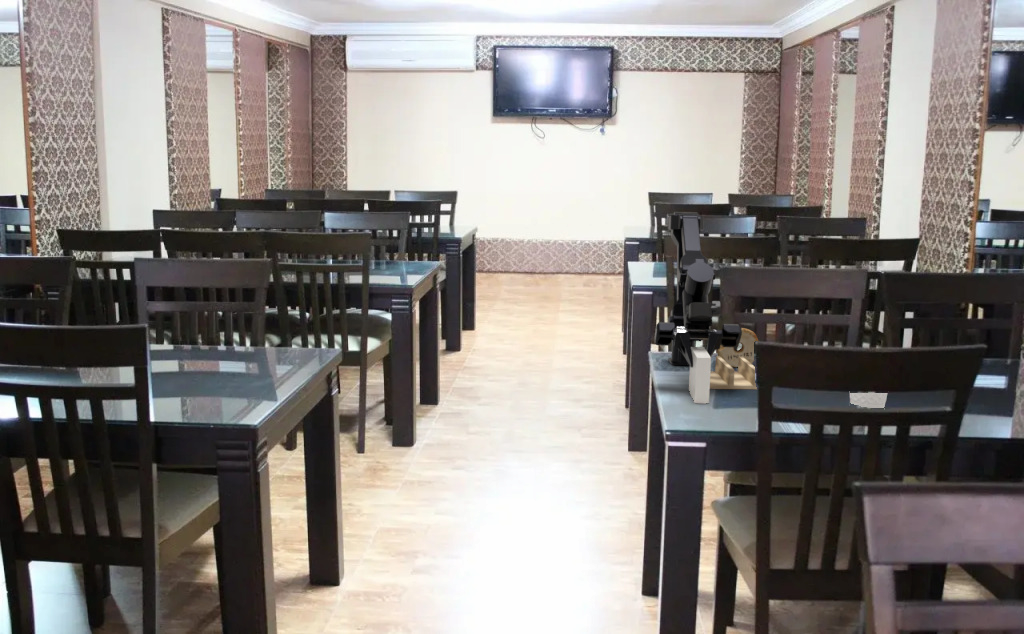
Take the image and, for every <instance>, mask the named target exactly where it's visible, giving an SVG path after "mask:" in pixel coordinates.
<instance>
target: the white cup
mask: <svg viewBox="0 0 1024 634" xmlns="http://www.w3.org/2000/svg"><path fill="white" fill-rule="evenodd" d="M887 396H888V393H850V392H849V404H850V403H851V404H854V405H859V406H861V407H870V408H884V407H885V408H886V406H885V405H886V402H887ZM885 408H884V409H885Z"/></svg>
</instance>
